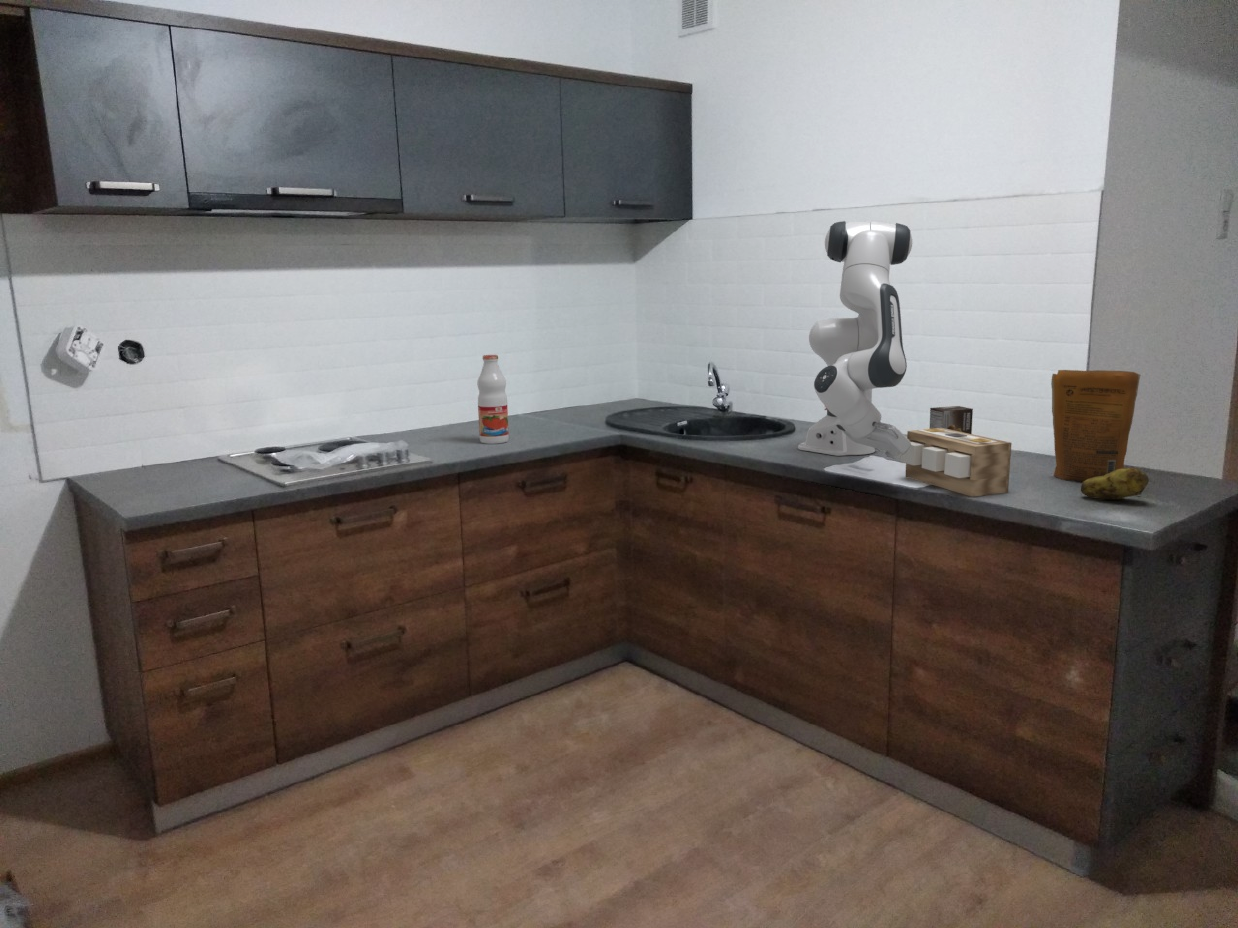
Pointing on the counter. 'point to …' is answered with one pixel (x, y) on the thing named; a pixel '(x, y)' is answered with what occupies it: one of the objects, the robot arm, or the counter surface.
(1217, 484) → the counter surface
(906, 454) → the button
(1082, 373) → the pancake mix bag
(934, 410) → the coffee box
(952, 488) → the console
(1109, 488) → the potato
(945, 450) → the button middle
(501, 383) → the fruit juice
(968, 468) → the button
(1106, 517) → the counter surface
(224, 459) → the counter surface
